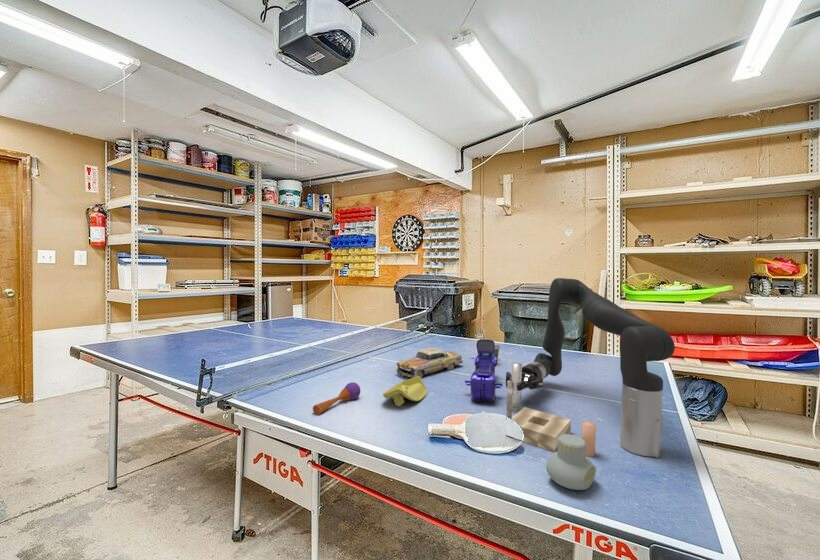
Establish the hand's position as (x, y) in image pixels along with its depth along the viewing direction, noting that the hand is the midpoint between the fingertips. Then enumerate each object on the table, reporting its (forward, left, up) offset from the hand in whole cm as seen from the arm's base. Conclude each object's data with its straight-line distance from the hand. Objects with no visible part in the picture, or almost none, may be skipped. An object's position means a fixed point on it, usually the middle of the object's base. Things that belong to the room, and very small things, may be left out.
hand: (512, 386), depth 121 cm
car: (+48, -20, -9) cm, 53 cm away
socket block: (-12, +9, -9) cm, 18 cm away
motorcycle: (+18, -15, -9) cm, 25 cm away
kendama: (+50, +33, -10) cm, 60 cm away
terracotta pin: (-26, +11, -9) cm, 30 cm away
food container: (+34, -46, -9) cm, 58 cm away
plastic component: (+36, +14, -9) cm, 39 cm away
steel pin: (0, -3, -9) cm, 9 cm away
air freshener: (-26, +27, -9) cm, 39 cm away
